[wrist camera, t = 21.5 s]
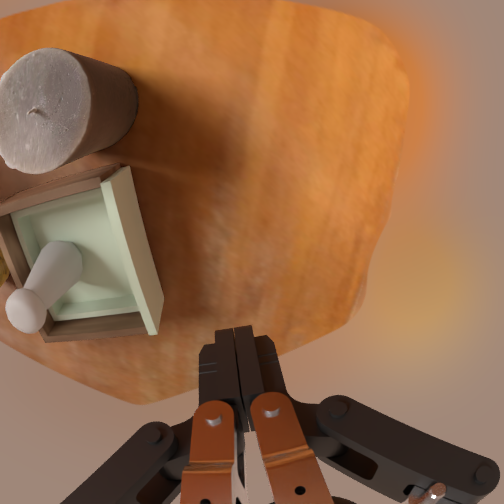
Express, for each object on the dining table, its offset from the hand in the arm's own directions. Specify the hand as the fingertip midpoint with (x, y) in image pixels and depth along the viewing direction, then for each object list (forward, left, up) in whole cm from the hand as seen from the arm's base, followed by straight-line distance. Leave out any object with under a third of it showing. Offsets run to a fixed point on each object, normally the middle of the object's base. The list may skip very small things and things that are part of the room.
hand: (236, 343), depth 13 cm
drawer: (+4, -17, -24) cm, 30 cm away
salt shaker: (+4, -20, -23) cm, 31 cm away
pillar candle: (-12, -12, -25) cm, 30 cm away
